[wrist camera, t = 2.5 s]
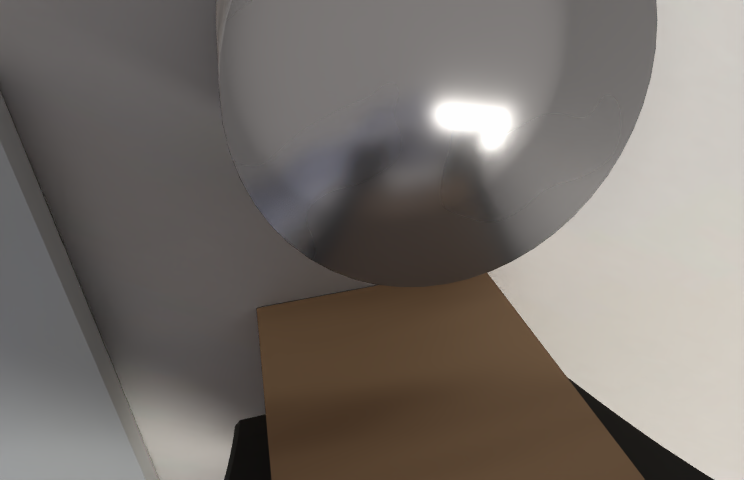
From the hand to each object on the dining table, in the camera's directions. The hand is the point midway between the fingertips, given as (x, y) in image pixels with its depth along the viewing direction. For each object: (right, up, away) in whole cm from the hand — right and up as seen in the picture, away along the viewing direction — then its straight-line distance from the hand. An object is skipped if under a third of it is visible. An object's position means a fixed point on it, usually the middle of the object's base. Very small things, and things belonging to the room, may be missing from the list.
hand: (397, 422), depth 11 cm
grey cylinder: (-1, +7, -2) cm, 7 cm away
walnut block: (0, +1, +1) cm, 1 cm away
